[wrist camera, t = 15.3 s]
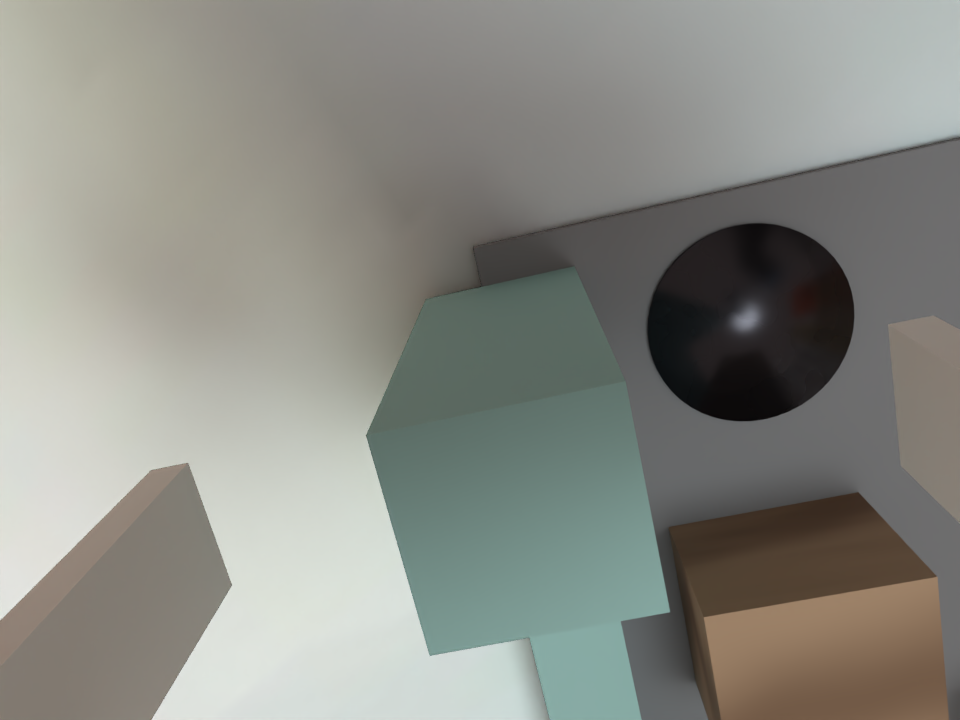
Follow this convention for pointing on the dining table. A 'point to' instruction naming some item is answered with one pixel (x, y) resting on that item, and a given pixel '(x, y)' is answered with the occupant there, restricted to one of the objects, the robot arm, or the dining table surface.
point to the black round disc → (750, 322)
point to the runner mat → (804, 430)
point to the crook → (522, 487)
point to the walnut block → (810, 615)
